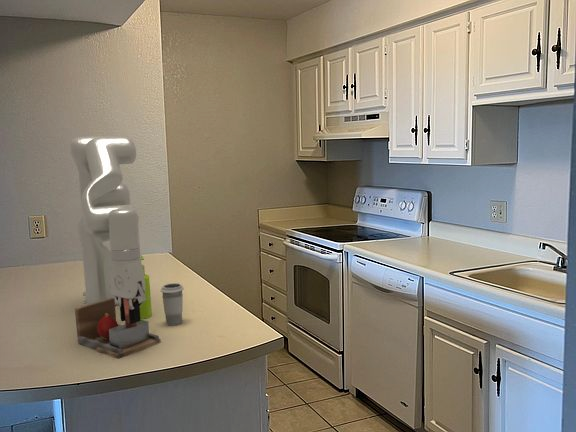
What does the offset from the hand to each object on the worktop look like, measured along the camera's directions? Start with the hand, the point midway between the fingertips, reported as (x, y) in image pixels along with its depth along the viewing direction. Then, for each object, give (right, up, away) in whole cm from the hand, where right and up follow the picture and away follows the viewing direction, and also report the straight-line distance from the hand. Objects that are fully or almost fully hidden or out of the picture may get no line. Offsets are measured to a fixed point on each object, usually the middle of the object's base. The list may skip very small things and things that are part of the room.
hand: (130, 320), depth 152 cm
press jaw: (-1, -6, +2) cm, 7 cm away
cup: (+8, -5, +20) cm, 22 cm away
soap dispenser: (-4, -4, +28) cm, 29 cm away
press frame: (-5, -7, +5) cm, 10 cm away
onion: (-8, -7, +8) cm, 14 cm away
